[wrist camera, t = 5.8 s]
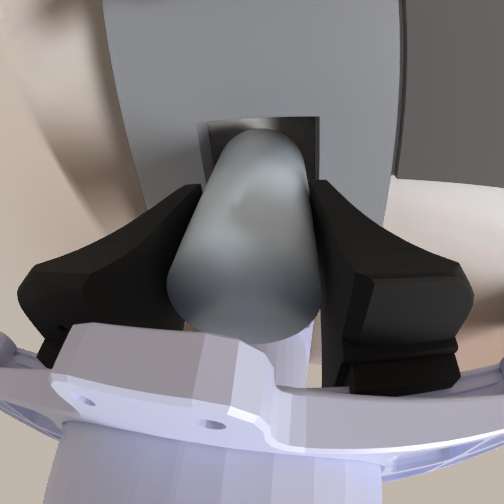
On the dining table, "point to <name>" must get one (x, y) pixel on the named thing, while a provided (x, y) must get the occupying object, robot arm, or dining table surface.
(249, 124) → the dining table surface
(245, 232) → the cylinder
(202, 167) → the housing
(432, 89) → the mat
